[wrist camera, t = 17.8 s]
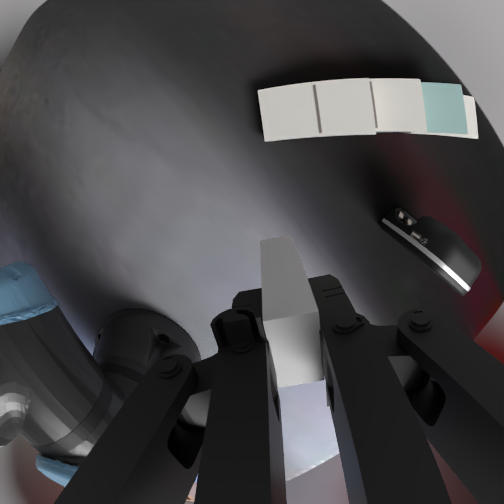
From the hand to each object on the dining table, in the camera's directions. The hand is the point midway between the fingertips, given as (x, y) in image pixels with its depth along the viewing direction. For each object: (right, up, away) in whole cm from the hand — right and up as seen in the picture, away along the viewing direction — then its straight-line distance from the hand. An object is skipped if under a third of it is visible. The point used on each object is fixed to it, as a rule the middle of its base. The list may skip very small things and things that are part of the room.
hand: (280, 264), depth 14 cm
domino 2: (+5, +14, +10) cm, 18 cm away
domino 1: (0, +13, +11) cm, 17 cm away
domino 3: (+10, +15, +10) cm, 20 cm away
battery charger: (+16, +3, +15) cm, 22 cm away
